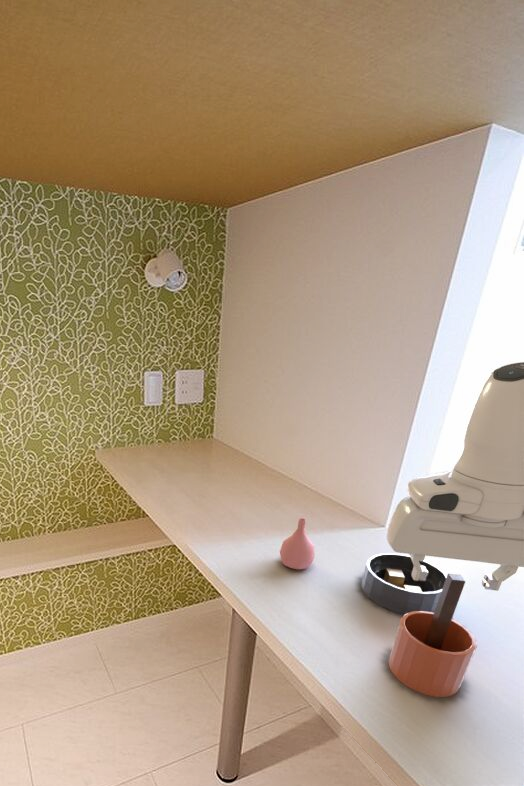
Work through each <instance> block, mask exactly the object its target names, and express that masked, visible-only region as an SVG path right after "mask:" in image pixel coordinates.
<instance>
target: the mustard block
mask: <svg viewBox="0 0 524 786" xmlns="http://www.w3.org/2000/svg"><path fill="white" fill-rule="evenodd" d="M403 589H407V590H410V591H418V592H422V590H421V588H420V587H417V586H409V585H404V586H403Z"/></svg>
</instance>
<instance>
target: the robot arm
mask: <svg viewBox="0 0 524 786" xmlns="http://www.w3.org/2000/svg"><path fill="white" fill-rule="evenodd" d="M406 490H407V493H408V496H405V497H404V498H402V499H401V500H400V501H399V502H398V504H397V505H396V506H395V509H394V512H393V514H392V517H391V519H390V521H389V524H388V528H387V531H386V540H387V543H388V545H389V546H390V548H391V549H392V550H393V552H395V553H397V554H406V555H408V556H410V557H411V560H412V562H413V565H414V567H413V570H412V578H413V580H416V581H426V577H427V575H428V571H427V570H426V567H425V566H420V563H419V561H425V558H426V557H433V558H443V559H450V560H460V561H468V562H477V563H485V564H494V565H499V567H498V568H496V569H495V570H494V571H493V572H492V573H484V576H483V579H482V582H481V586H482V587H483V588H484V589H485V590H488V591H496V592H497V591H499V590H500V588H501V585H502V583H503V582H504V581H506V580H507V579H509V578H510V577H512V576H513V575H515V574H516V573H517V571H518V569H519V568H524V361H520V362H514V363H508V364H505V365H502V366H500V367H498V368H496V369H494V370H492V372H490V374H489V375H488V376H487V378H486V380H484V383H483V384H482V386H481V388H480V390H479V392H478V394H477V396H476V399H475V401H474V403H473V405H472V408H471V410H470V413H469V416H468V419H467V421H466V425H465V428H464V431H463V445H462V450H461V452H460V454H459V456H458V457H457V459H456V460H455V461H454V464H453V466H452V470H450V471H446V472H442V473H437V474H432V475H427V476H421V477H416V478H412V479H411V480H409V481H408V483H407V486H406Z"/></svg>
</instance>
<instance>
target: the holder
mask: <svg viewBox="0 0 524 786" xmlns="http://www.w3.org/2000/svg"><path fill="white" fill-rule="evenodd" d="M433 615H434V613H433V612H426V611H413V612H410V613H407V614H403V616H402V617H401V618H400V621H399V623H398V628H397V630H396V635H395V638H394V641H393V644H392V647H391V651H390V654H389V658H388V666H389V669H390V671H391V673H392V674H393V676H394V677H395V678H396V679H397V680H398V681H399V682H401V683H402V684H403V685H405V686H406V687H408V688H410V689H411V690H413V691H415V692H416V693H420V694H423V695H425V696H430V697H435V698H447V697H451V696H453V695H456V693H458V691H459V690H460V689H461V686H462V684H463V682H464V679H465V677H466V674H467V673H468V669H469V666H470V665H471V662H472V660H473V657H474V654H475V652H476V650H477V647H478V645H477V639H476V637H475V636H474V634H473V633H472V631H470V630H469V629H468V628H467V627H466V626H464V625H463V624H461V623H460V622H459V621H457V620H455V619H453V618H452V620H451V623H450V625H449V628H448V631H447V634H446V636H445V639H444V642H443V645H442V647H441V650H438V649H435V648H432V647H429V646H427V645H425V644H424V642H425V639H426V636H427V633H428V630H429V627H430V624H431V621H432V618H433Z"/></svg>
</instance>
